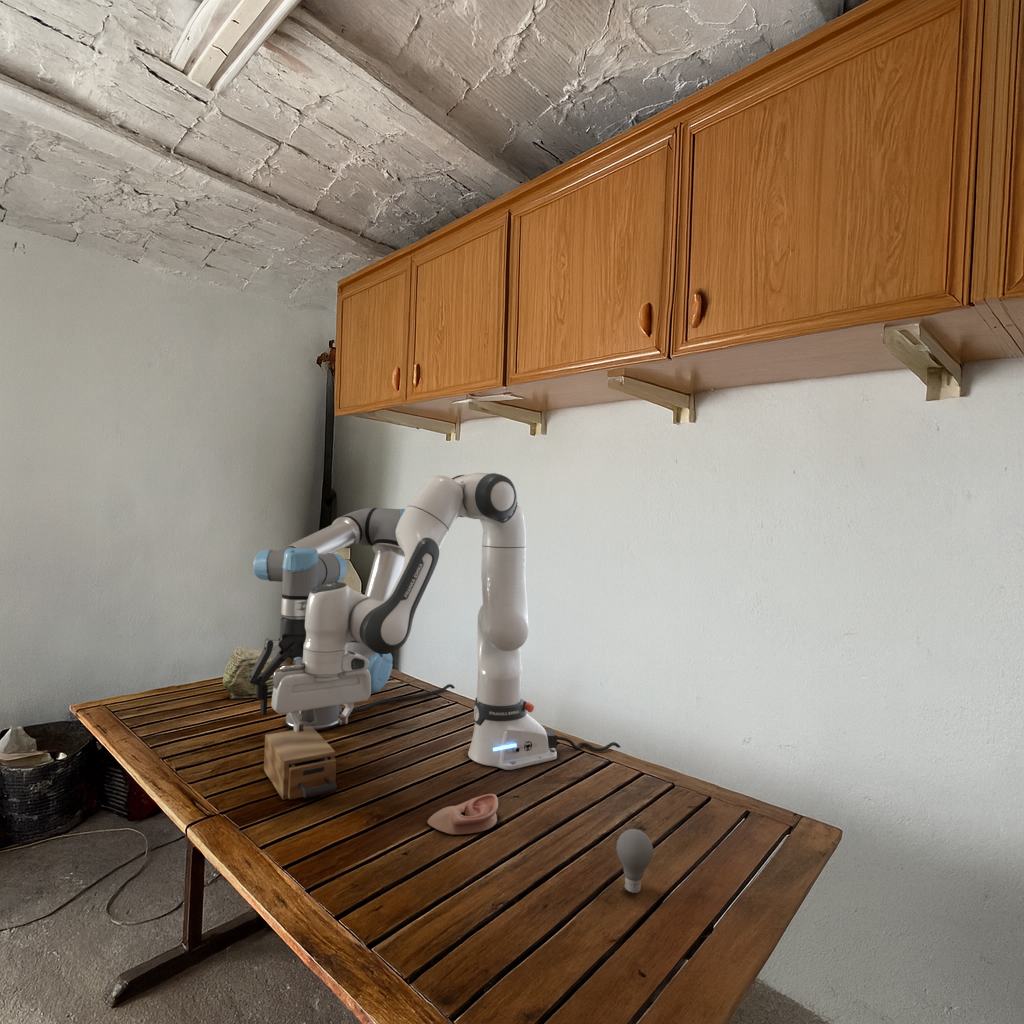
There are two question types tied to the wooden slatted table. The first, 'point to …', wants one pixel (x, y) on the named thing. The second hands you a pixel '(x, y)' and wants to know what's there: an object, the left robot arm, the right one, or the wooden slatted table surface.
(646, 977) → the wooden slatted table surface
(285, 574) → the left robot arm
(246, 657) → the fossil
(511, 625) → the right robot arm
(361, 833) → the wooden slatted table surface
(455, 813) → the anatomical model
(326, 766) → the drawer
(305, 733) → the cabinet
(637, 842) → the light bulb
